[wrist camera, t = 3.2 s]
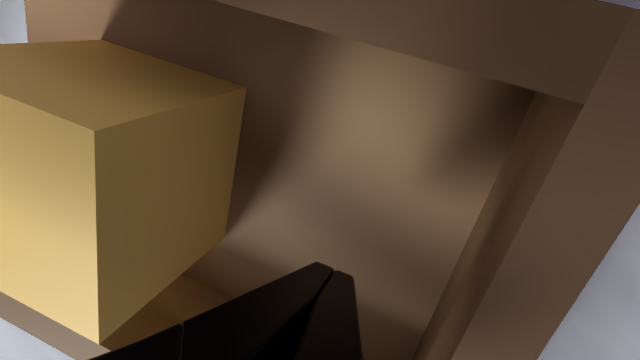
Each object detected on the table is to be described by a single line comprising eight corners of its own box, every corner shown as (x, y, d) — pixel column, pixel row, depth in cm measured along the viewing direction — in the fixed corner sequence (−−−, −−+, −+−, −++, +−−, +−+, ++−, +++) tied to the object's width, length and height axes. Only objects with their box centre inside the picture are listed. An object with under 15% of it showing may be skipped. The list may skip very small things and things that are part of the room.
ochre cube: (225, 236, 13) (98, 344, 9) (102, 184, 14) (-64, 256, 10) (246, 87, 11) (94, 130, 7) (100, 39, 12) (-112, 50, 8)
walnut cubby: (431, 389, 14) (412, 548, 10) (71, 221, 17) (-58, 284, 13) (619, 28, 9) (751, 34, 5) (53, -106, 12) (-166, -171, 8)
